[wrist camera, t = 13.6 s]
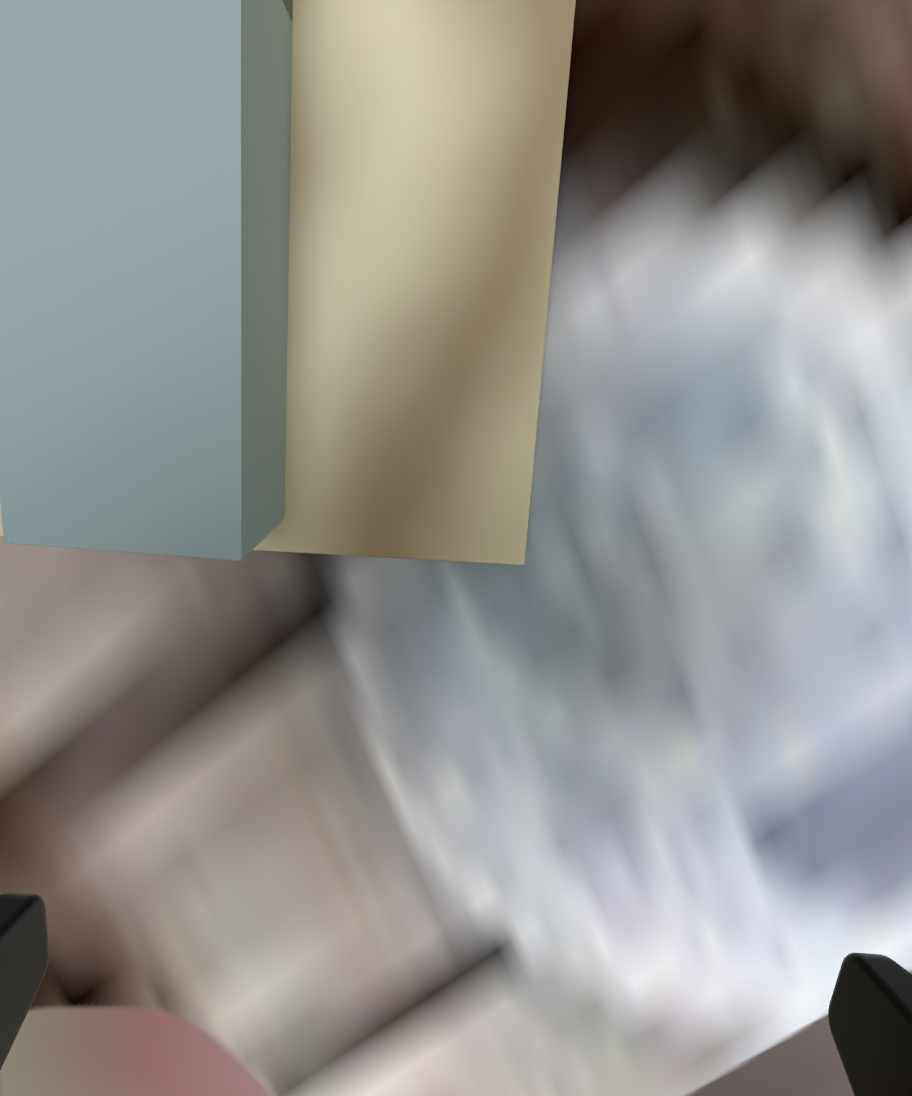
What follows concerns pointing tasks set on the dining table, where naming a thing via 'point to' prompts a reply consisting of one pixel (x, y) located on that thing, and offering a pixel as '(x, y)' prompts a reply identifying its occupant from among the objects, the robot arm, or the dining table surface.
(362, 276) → the birch board
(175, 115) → the slate block
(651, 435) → the dining table surface
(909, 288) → the dining table surface
